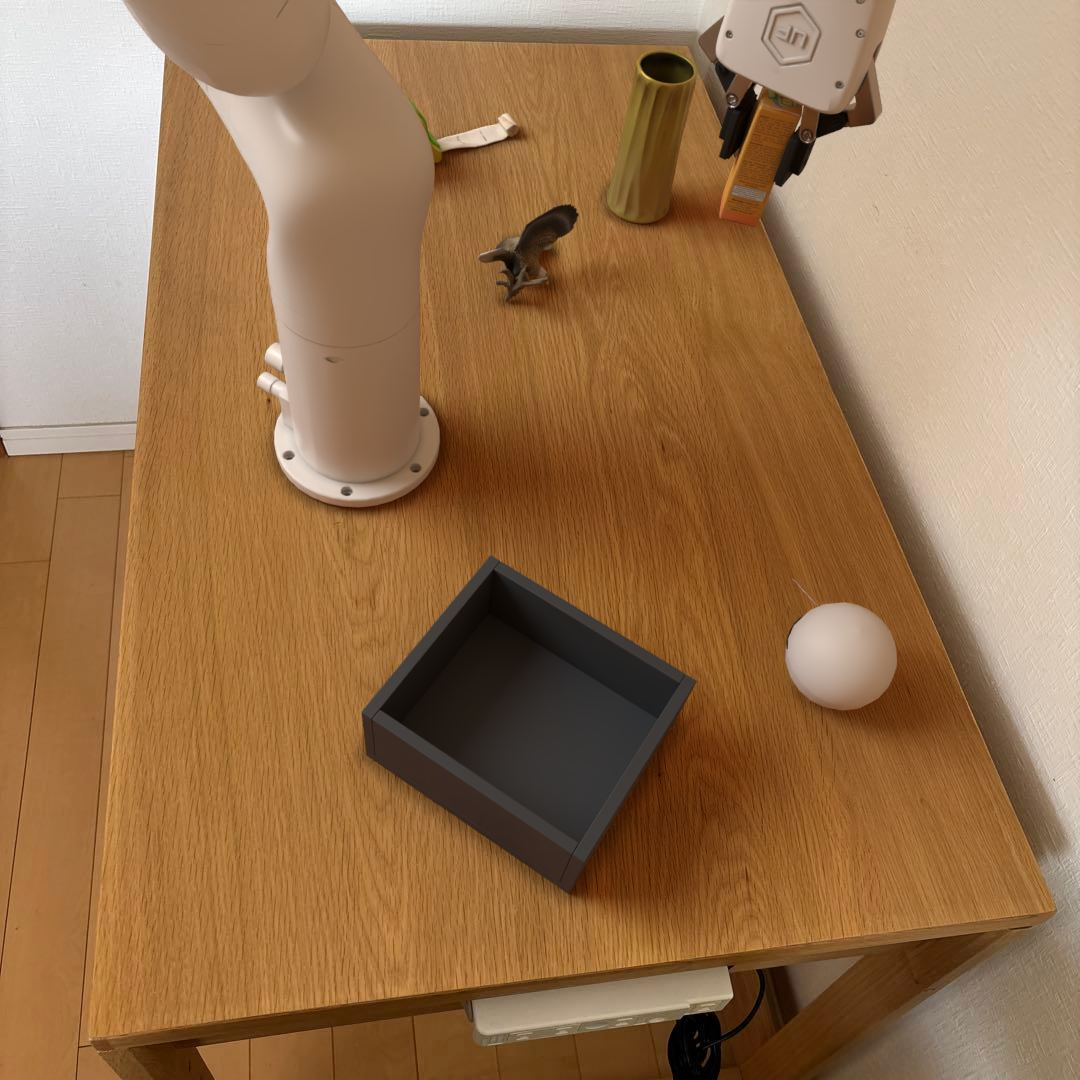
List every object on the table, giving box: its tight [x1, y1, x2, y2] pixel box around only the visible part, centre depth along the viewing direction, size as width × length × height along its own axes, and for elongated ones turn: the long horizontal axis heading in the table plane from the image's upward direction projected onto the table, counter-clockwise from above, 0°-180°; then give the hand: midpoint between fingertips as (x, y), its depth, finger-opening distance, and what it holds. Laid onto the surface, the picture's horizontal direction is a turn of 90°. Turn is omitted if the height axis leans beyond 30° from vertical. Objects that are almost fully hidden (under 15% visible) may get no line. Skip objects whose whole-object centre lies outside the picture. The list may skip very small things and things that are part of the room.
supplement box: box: [718, 86, 803, 228], centre depth 77 cm, size 3×3×10 cm
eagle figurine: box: [477, 203, 580, 303], centre depth 90 cm, size 8×7×9 cm
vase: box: [605, 48, 698, 225], centre depth 93 cm, size 6×6×14 cm
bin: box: [360, 554, 698, 894], centre depth 65 cm, size 16×14×7 cm
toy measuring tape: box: [407, 96, 520, 164], centre depth 97 cm, size 6×20×7 cm, turn 118°
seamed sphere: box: [784, 578, 898, 711], centre depth 70 cm, size 10×7×7 cm
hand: (758, 161), depth 77 cm, fingers closed on supplement box, 3 cm apart
